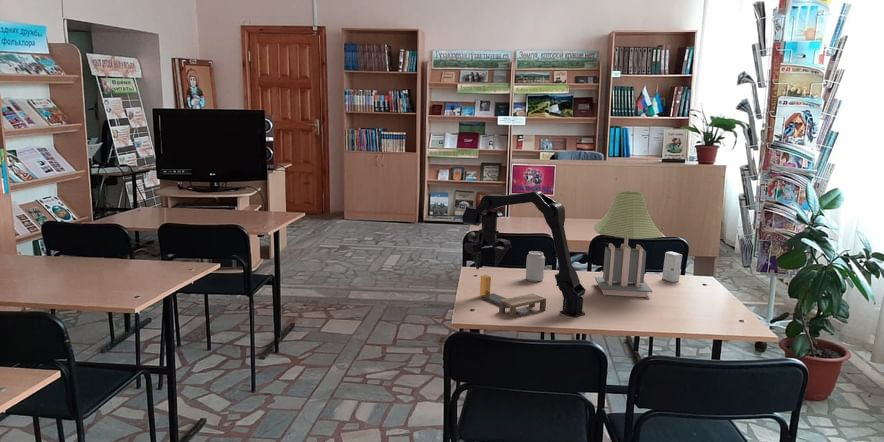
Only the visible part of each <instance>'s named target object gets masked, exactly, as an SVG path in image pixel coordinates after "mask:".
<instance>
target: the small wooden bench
mask: <svg viewBox="0 0 884 442" xmlns="http://www.w3.org/2000/svg"><path fill="white" fill-rule="evenodd" d="M538 303H539V311H541V312H545V311H546V309H547V306H546V305H547V298H546V297H543V296H540V295H538V294H535V293H529V294H524V295H519V296H514V297H508V298H507V299H503V300H500V304H499V306H498V307H499V309H498V312H499V313H500V314H505V313H506V308H505V305H506V306H509V317H510V318H512V319H514V318H516V316H517V312H516V309H517V308H522V307H524V306H525V307H526V306H529V307H530V308H534V307H535V306H536V304H538Z"/></svg>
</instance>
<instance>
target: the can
mask: <svg viewBox="0 0 884 442" xmlns="http://www.w3.org/2000/svg"><path fill="white" fill-rule="evenodd" d="M545 261H546V256H544V252H543V251H536V250H534V251H533V250H531V251H528V254H527V255H526V263H525V264H526V265H525V279H526V280H527V281H529V282H532V283H533V282H534V283H536V282H537V281H540V282H542V281H543V280H544V277H545V276H544V275H545ZM537 283H538V282H537Z"/></svg>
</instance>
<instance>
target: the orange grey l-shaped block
mask: <svg viewBox="0 0 884 442" xmlns="http://www.w3.org/2000/svg"><path fill="white" fill-rule="evenodd" d="M479 283H480V285H479V286H480V287H479V288H480V289H479V297H480V299H481V300H484V301H486V302H488V303H491V304H494V305H496V306H498V307H499V304H500V300H503V299H508V298H507V297H504V296H501V295H499V294H496V293H491V283H492V276H489V275H487V274H484V275H480V282H479ZM507 308H509V309H510V307H509V306H506V305H505V309H507Z"/></svg>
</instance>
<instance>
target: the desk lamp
mask: <svg viewBox="0 0 884 442" xmlns="http://www.w3.org/2000/svg"><path fill="white" fill-rule="evenodd" d="M593 230H594V231H595V232H596V233H597V234H598V235H603V236H609V237H616V238H622V239H624V240H623V241H624V242H623V243H621V244H620V247H616V246H615V245H614V244H613V243H611V242H610V243H608V247H606V246H605V247H604V257H603V258H604V259H603V273H602V274H603V275H602V276H601V277H600V276H594V280H595V282H596V283H597V286H598V287H599V289H600V290H601V292H602V295H604V296H605V295H608V296H620V297H621V296H623V297H624V296H625V297H641V298H647V297H648V293H653V289H651V287H650V286H649V285H648V284H647V282H646V281H645V273H646V272H645V269H646V259H647V251H646V250H645V249H644V248H643V246H641V244H636V245H635V246H636V247H635V248H631V246H630V245H629V239H630V240H631V239H632V240H639V239H641V240H645V239H646V240H647V239H658V238H662V237H663V234H662V232H661V231H660V230H659V228H658V227H657V226H656V225H655V223H654V221H653V220H652V218H651V215H650V213H649V212H648V208H647V205H646V201H645V197H644V194H643V193H642V192H639V191H629V190H627V191H626V190H624V191H622V190H621V191H617V194H616V196H615V198H614V200H613V202H612V204H611V206H610V208H609V209H608V211H607V212H606V213H605V215H604V216H603V217H602V218H601V219H600V220H599V221H598V222H597V223H596V224H594V226H593Z"/></svg>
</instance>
